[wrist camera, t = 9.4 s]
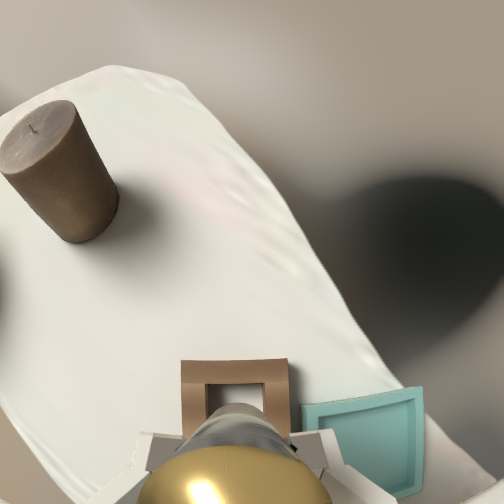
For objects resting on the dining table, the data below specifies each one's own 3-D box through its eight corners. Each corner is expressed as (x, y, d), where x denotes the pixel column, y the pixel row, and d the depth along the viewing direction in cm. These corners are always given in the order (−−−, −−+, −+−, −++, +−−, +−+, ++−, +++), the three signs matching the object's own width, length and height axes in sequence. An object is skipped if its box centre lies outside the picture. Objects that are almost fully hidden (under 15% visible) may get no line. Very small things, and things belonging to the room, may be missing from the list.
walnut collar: (286, 450, 24) (291, 457, 21) (189, 452, 23) (184, 459, 20) (282, 360, 27) (287, 358, 25) (186, 362, 27) (180, 360, 24)
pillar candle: (134, 194, 34) (92, 97, 21) (83, 258, 31) (9, 179, 17) (87, 168, 36) (43, 84, 22) (41, 222, 32) (-22, 149, 19)
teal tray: (410, 485, 21) (421, 491, 19) (303, 512, 21) (308, 521, 18) (409, 386, 26) (422, 386, 24) (300, 405, 26) (306, 407, 23)
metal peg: (271, 459, 14) (331, 579, 3) (207, 460, 14) (149, 580, 3) (269, 401, 15) (334, 436, 4) (205, 402, 15) (127, 438, 4)
